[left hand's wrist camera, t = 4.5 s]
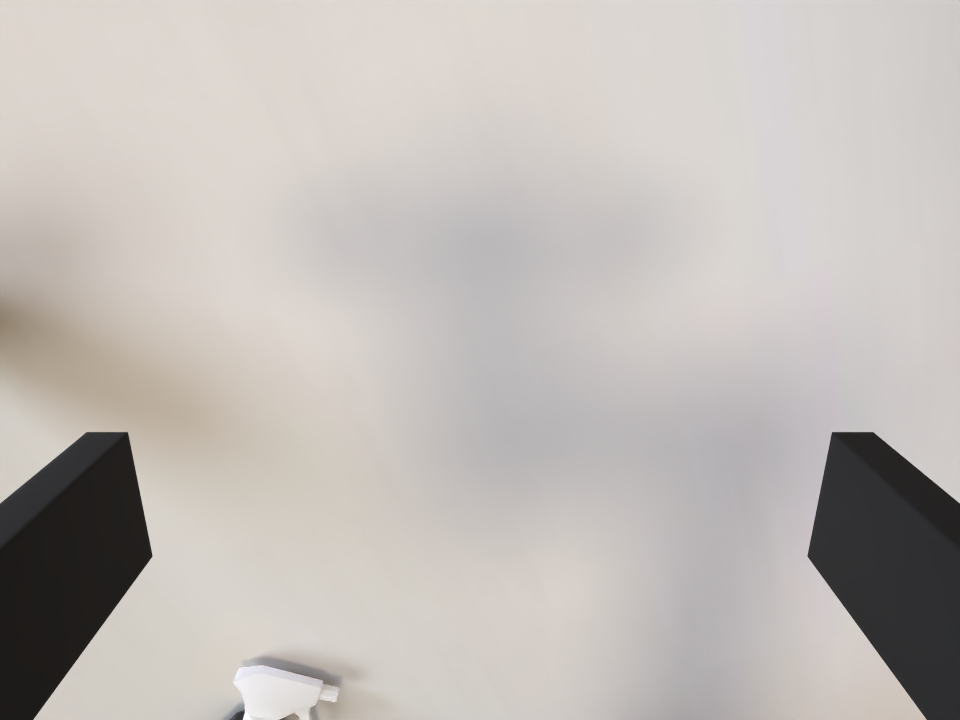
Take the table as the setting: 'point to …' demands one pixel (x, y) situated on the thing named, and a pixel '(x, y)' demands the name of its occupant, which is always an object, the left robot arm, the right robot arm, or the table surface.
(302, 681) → the spray bottle
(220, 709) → the table surface
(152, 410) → the table surface
